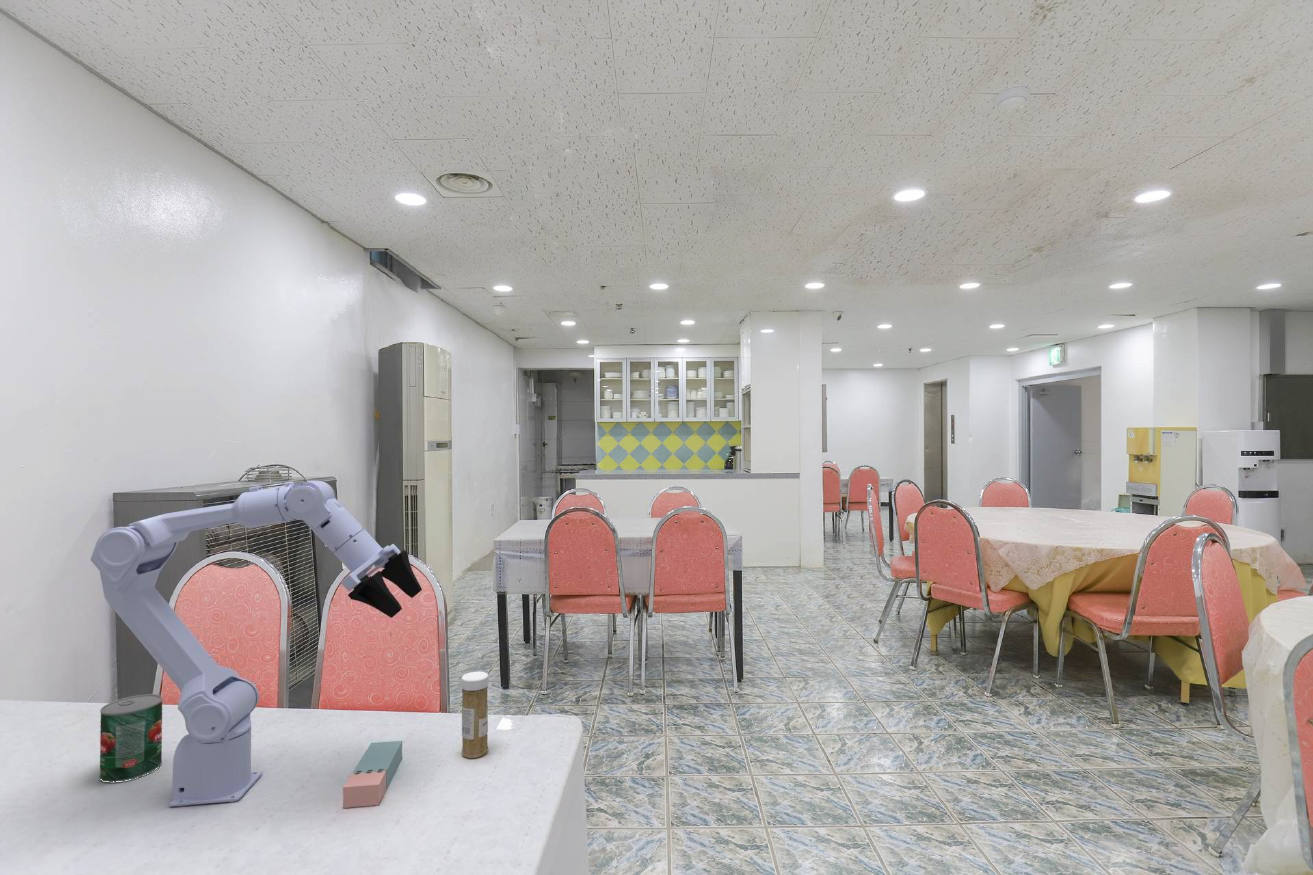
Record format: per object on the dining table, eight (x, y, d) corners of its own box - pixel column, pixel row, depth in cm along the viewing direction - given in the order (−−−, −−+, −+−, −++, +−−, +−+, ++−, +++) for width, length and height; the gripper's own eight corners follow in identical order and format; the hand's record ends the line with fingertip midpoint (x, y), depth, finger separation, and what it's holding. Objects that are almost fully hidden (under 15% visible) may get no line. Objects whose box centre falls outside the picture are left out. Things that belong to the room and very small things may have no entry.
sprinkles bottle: (491, 754, 108) (492, 676, 108) (465, 761, 105) (465, 681, 106) (483, 744, 112) (483, 668, 112) (457, 750, 109) (458, 673, 109)
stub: (342, 807, 92) (343, 786, 92) (351, 793, 96) (351, 772, 96) (378, 804, 92) (379, 783, 93) (386, 790, 96) (386, 769, 96)
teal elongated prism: (352, 792, 96) (352, 772, 96) (371, 760, 106) (371, 742, 106) (386, 789, 97) (386, 769, 97) (402, 758, 107) (402, 739, 107)
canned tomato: (172, 764, 104) (173, 698, 105) (115, 787, 97) (116, 716, 98) (145, 754, 108) (146, 690, 108) (88, 776, 101) (89, 708, 101)
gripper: (342, 540, 93) (405, 607, 94) (388, 513, 107) (442, 571, 108) (310, 569, 93) (372, 635, 95) (359, 538, 108) (413, 596, 109)
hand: (407, 603), depth 102 cm, fingers open, 7 cm apart
